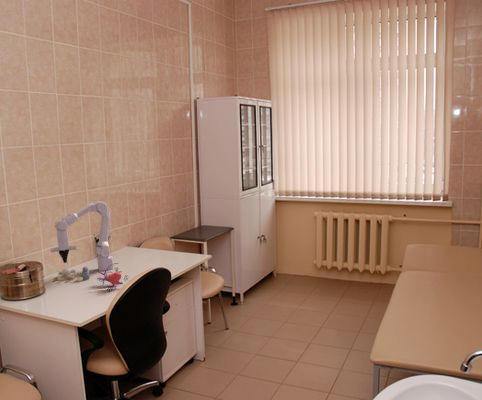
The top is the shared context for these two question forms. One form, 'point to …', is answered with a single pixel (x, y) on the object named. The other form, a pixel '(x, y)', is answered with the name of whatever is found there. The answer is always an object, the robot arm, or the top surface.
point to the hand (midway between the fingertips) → (65, 262)
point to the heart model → (112, 277)
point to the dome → (66, 271)
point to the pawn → (85, 273)
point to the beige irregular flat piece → (67, 277)
